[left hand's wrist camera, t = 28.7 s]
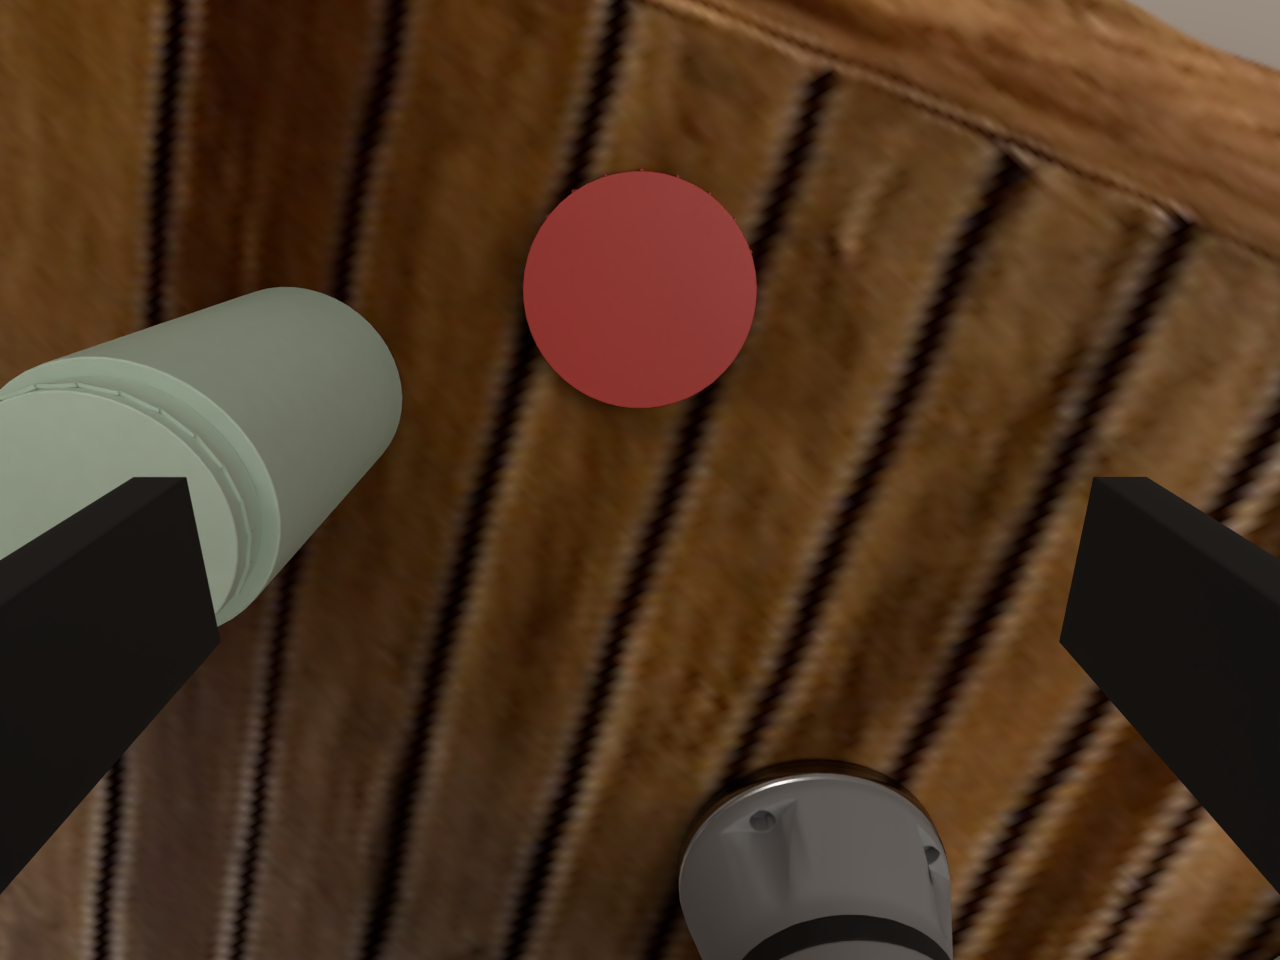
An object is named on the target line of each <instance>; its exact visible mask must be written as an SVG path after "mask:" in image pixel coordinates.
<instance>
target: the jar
mask: <svg viewBox="0 0 1280 960" xmlns="http://www.w3.org/2000/svg"><path fill="white" fill-rule="evenodd" d="M401 411H402V389H401V382H400V377H399V373H398V370H397V367H396V364H395V361H394V359H393V357H392V355H391V353H390V351H389V349H388V347H387V345H386V344H385V342H384V341H383V339H382V338H381V336H380V335H379V334H378V333H377V332H376V330H375V329H374V328H373V327H372V326H371V324H369V323H368V322H367V321H366V320H365V319H364V318H363V317H362V316H361V315H360V314H358V313H357V312H356V311H354V310H353V309H352V308H350V307H349V306H347V305H346V304H344V303H342V302H340V301H338V300H337V299H335V298H332V297H330V296H328V295H325V294H323V293H319V292H316V291H312V290H309V289H302V288H296V287H277V288H268V289H264V290H260V291H256V292H253V293H250V294H247V295H244V296H241V297H238V298H235V299H232V300H229V301H226V302H223V303H220V304H217V305H214V306H211V307H208V308H206V309H203V310H200V311H197V312H194V313H191V314H188V315H185V316H182V317H179V318H176V319H173V320H170V321H167V322H164V323H161V324H158V325H155V326H152V327H149V328H147V329H144V330H141V331H138V332H135V333H132V334H129V335H126V336H123V337H120V338H117V339H114V340H111V341H108V342H105V343H102V344H99V345H96V346H93V347H91V348H88V349H85V350H82V351H79V352H76V353H73V354H70V355H67V356H64V357H61V358H58V359H55V360H52V361H49V362H46V363H43V364H41V365H39V366H36V367H34V368H32V369H29V370H27V371H25V372H23V373H22V374H20V375H19V376H17V377H15V378H14V379H12V380H11V381H9V382H8V383H7V384H6V385H5V386H4V387H3V388H2V389H0V560H1V559H3V558H4V557H6V556H8V555H9V554H11V553H12V552H14V551H16V550H17V549H19V548H20V547H22V546H24V545H25V544H27V543H28V542H30V541H32V540H33V539H35V538H36V537H38V536H40V535H41V534H43V533H44V532H46V531H48V530H49V529H51V528H53V527H54V526H56V525H57V524H59V523H61V522H62V521H64V520H65V519H67V518H69V517H70V516H72V515H73V514H75V513H77V512H78V511H80V510H81V509H83V508H85V507H86V506H88V505H89V504H91V503H93V502H94V501H96V500H97V499H99V498H101V497H102V496H104V495H105V494H107V493H109V492H110V491H112V490H113V489H115V488H117V487H118V486H120V485H121V484H123V483H125V482H126V481H128V480H129V479H131V478H133V477H187V482H188V487H189V492H190V497H191V501H192V506H193V511H194V516H195V521H196V526H197V530H198V535H199V540H200V545H201V550H202V554H203V559H204V564H205V569H206V574H207V579H208V583H209V588H210V593H211V598H212V603H213V607H214V612H215V617H216V622H217V627H218V626H220V625H222V624H223V623H225V622H227V621H229V620H231V619H232V618H234V617H235V616H237V615H238V614H239V613H241V612H242V611H243V610H245V609H246V608H247V607H248V606H249V605H250V604H251V603H252V602H253V601H254V600H255V599H256V598H257V596H258V595H259V594H260V593H261V592H262V591H263V590H264V589H265V587H266V586H267V585H268V584H269V583H270V582H271V581H272V579H273V578H274V577H275V576H276V575H277V574H278V573H279V571H280V570H281V569H282V568H283V567H284V566H285V565H286V563H287V562H288V561H289V560H290V559H291V558H292V557H293V556H294V554H295V553H296V552H297V551H298V550H299V549H300V548H301V546H302V545H303V544H304V543H305V542H306V541H307V540H308V538H309V537H310V536H311V535H312V534H313V533H314V532H315V530H316V529H317V528H318V527H319V526H320V525H321V524H322V523H323V521H324V520H325V519H326V518H327V517H328V516H329V515H330V513H331V512H332V511H333V510H334V509H335V508H336V507H337V505H338V504H339V503H340V502H341V501H342V500H343V499H344V497H345V496H346V495H347V494H348V493H349V492H350V491H351V490H352V488H353V487H354V486H355V485H356V484H357V483H358V482H359V480H360V479H361V478H362V477H363V476H364V475H365V474H366V472H367V471H368V470H369V469H370V468H371V467H372V466H373V464H374V463H375V462H376V461H377V460H378V459H379V458H380V457H381V455H382V454H383V453H384V452H385V450H386V449H387V447H388V446H389V445H390V443H391V441H392V439H393V437H394V435H395V433H396V430H397V427H398V425H399V421H400V416H401Z"/></svg>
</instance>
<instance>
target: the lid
mask: <svg viewBox="0 0 1280 960" xmlns="http://www.w3.org/2000/svg"><path fill="white" fill-rule="evenodd" d="M604 175H605V177H602V178H599V179H597V180H595V181H593V182H590V183H588V184H586V185H584V186H583V187H581V188H579V189H578V190H577V189H574V190H572V194H570V195H569V196H568V197H567V198H565V199H564V200H563V201H562V202H561V203H560V204H559V205H558V206H557V207H556V208H555V209H554V210H553V211H552V212H551V213H550V214H548V215H547V216H546V218H547V219H546V220H545V221H544V223H543V224H542V226H541V227H540V229H539V231H538V233H537V235H536V237H535V239H534V241H533V243H532V245H531V246H530V247H529V249H530V251H529V254H528V257H527V262H526V266H525V271H524V281H523V283H522V284H523V300H524V308H525V313H526V319H527V322H528V325H529V328H530V332H531V334H532V336H533V338H534V341H535V343H536V345H537V347H538V349H539V350H540V352H541V353H542V355H543V357H544V358H545V360H546V361H547V362H548V363H549V365H550V366H551V367H552V368H553V370H554V371H555V372H556V373H557V374H558V375H559V376H561V377H562V378H563V379H564V380H565V381H566V382H567V383H569V384H570V385H571V386H573V387H574V388H575V389H577V390H578V391H580V392H582V393H584V394H586V395H587V396H589V397H591V398H594V399H596V400H599V401H601V402H604V403H608V404H611V405H615V406H620V407H628V408H652V407H660V406H665V405H669V404H673V403H676V402H679V401H681V400H684V399H686V398H689V397H691V396H692V395H694V394H696V393H698V392H700V391H702V390H703V389H704V388H706V387H707V386H709V385H710V384H711V383H713V382H714V381H715V380H716V379H717V378H718V377H719V376H720V375H721V374H723V373H724V372H725V370H726V369H727V368H728V367H729V366H730V364H731V363H732V362H733V361H734V359H735V358H736V356H737V355H738V353H739V352H740V350H741V348H742V347H743V344H744V342H745V340H746V338H747V336H748V334H749V331H750V328H751V325H752V322H753V318H754V312H755V307H756V296H757V283H756V272H755V267H754V262H753V258H752V255H751V253H752V251H751V250H750V249H749V246H748V243H747V241H746V239H745V237H744V235H743V233H742V231H741V229H740V228H739V226H738V225H737V223H736V222H735V221H736V219H735V218H734V217H732V216H731V215H730V214H729V213H728V211H727V210H726V209H725V208H724V207H723V206H722V205H721V204H720V203H719V202H718V201H717V200H716V199H714V198H713V197H712V196H711V193H710V192H708V191H707V192H705V191H704V190H702V189H700V188H699V187H697V186H696V185H694V184H692V183H689V182H687V181H685V180H683V179H681V178H679V175H675V176H672V175H668V174H665V173H659V172H653V171H643V169H641V171H628V172H620V173H615V174H612V175H608V173H607V174H604Z"/></svg>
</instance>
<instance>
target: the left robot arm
mask: <svg viewBox="0 0 1280 960" xmlns="http://www.w3.org/2000/svg"><path fill="white" fill-rule="evenodd" d="M220 642H221V641H220V636H219V632H218V627H217V622H216V617H215V612H214V607H213V603H212V598H211V593H210V588H209V583H208V579H207V574H206V569H205V564H204V559H203V554H202V550H201V545H200V540H199V535H198V530H197V526H196V521H195V516H194V511H193V506H192V501H191V497H190V492H189V487H188V482H187V477H133V478H131V479H129V480H128V481H126V482H125V483H123V484H121V485H120V486H118V487H117V488H115V489H113V490H112V491H110V492H109V493H107V494H105V495H104V496H102V497H101V498H99V499H97V500H96V501H94V502H93V503H91V504H89V505H88V506H86V507H85V508H83V509H81V510H80V511H78V512H77V513H75V514H73V515H72V516H70V517H69V518H67V519H65V520H64V521H62V522H61V523H59V524H57V525H56V526H54V527H53V528H51V529H49V530H48V531H46V532H44V533H43V534H41V535H40V536H38V537H36V538H35V539H33V540H32V541H30V542H28V543H27V544H25V545H24V546H22V547H20V548H19V549H17V550H16V551H14V552H12V553H11V554H9V555H8V556H6V557H4V558H3V559H1V560H0V894H1V893H2V892H3V891H4V889H5V888H6V887H7V886H8V885H9V884H10V883H11V881H12V880H13V879H14V878H15V877H16V876H17V875H18V873H19V872H20V871H21V870H22V869H23V868H24V867H25V865H26V864H27V863H28V862H29V861H30V860H31V859H32V857H33V856H34V855H35V854H36V853H37V852H38V851H39V849H40V848H41V847H42V846H43V845H44V844H45V843H46V841H47V840H48V839H49V838H50V837H51V836H52V834H53V833H54V832H55V831H56V830H57V829H58V828H59V826H60V825H61V824H62V823H63V822H64V821H65V820H66V818H67V817H68V816H69V815H70V814H71V813H72V812H73V810H74V809H75V808H76V807H77V806H78V805H79V804H80V802H81V801H82V800H83V799H84V798H85V797H86V796H87V794H88V793H89V792H90V791H91V790H92V789H93V788H94V786H95V785H96V784H97V783H98V782H99V781H100V779H101V778H102V777H103V776H104V775H105V774H106V773H107V771H108V770H109V769H110V768H111V767H112V766H113V765H114V763H115V762H116V761H117V760H118V759H119V758H120V757H121V755H122V754H123V753H124V752H125V751H126V750H127V749H128V747H129V746H130V745H131V744H132V743H133V742H134V741H135V739H136V738H137V737H138V736H139V735H140V734H141V732H142V731H143V730H144V729H145V728H146V727H147V726H148V724H149V723H150V722H151V721H152V720H153V719H154V718H155V716H156V715H157V714H158V713H159V712H160V711H161V710H162V708H163V707H164V706H165V705H166V704H167V703H168V702H169V700H170V699H171V698H172V697H173V696H174V695H175V694H176V692H177V691H178V690H179V689H180V688H181V687H182V686H183V684H184V683H185V682H186V681H187V680H188V679H189V677H190V676H191V675H192V674H193V673H194V672H195V671H196V669H197V668H198V667H199V666H200V665H201V664H202V663H203V661H204V660H205V659H206V658H207V657H208V656H209V655H210V653H211V652H212V651H213V650H214V649H215V648H216V647H217V645H218V644H219V643H220ZM1059 642H1060V643H1061V644H1062V645H1063V647H1064V648H1065V649H1066V650H1067V651H1068V652H1069V653H1070V655H1071V656H1072V657H1073V658H1074V659H1075V660H1076V661H1077V663H1078V664H1079V665H1080V666H1081V667H1082V668H1083V669H1084V671H1085V672H1086V673H1087V674H1088V675H1089V676H1090V677H1091V679H1092V680H1093V681H1094V682H1095V683H1096V684H1097V686H1098V687H1099V688H1100V689H1101V690H1102V691H1103V692H1104V694H1105V695H1106V696H1107V697H1108V698H1109V699H1110V700H1111V702H1112V703H1113V704H1114V705H1115V706H1116V707H1117V708H1118V710H1119V711H1120V712H1121V713H1122V714H1123V715H1124V716H1125V718H1126V719H1127V720H1128V721H1129V722H1130V723H1131V724H1132V726H1133V727H1134V728H1135V729H1136V730H1137V731H1138V732H1139V734H1140V735H1141V736H1142V737H1143V738H1144V739H1145V741H1146V742H1147V743H1148V744H1149V745H1150V746H1151V747H1152V749H1153V750H1154V751H1155V752H1156V753H1157V754H1158V755H1159V757H1160V758H1161V759H1162V760H1163V761H1164V762H1165V763H1166V765H1167V766H1168V767H1169V768H1170V769H1171V770H1172V771H1173V773H1174V774H1175V775H1176V776H1177V777H1178V778H1179V779H1180V781H1181V782H1182V783H1183V784H1184V785H1185V786H1186V788H1187V789H1188V790H1189V791H1190V792H1191V793H1192V794H1193V796H1194V797H1195V798H1196V799H1197V800H1198V801H1199V802H1200V804H1201V805H1202V806H1203V807H1204V808H1205V809H1206V810H1207V812H1208V813H1209V814H1210V815H1211V816H1212V817H1213V818H1214V820H1215V821H1216V822H1217V823H1218V824H1219V825H1220V826H1221V828H1222V829H1223V830H1224V831H1225V832H1226V833H1227V834H1228V836H1229V837H1230V838H1231V839H1232V840H1233V841H1234V843H1235V844H1236V845H1237V846H1238V847H1239V848H1240V849H1241V851H1242V852H1243V853H1244V854H1245V855H1246V856H1247V857H1248V859H1249V860H1250V861H1251V862H1252V863H1253V864H1254V865H1255V867H1256V868H1257V869H1258V870H1259V871H1260V872H1261V873H1262V875H1263V876H1264V877H1265V878H1266V879H1267V880H1268V881H1269V883H1270V884H1271V885H1272V886H1273V887H1274V888H1275V890H1276V891H1277V892H1278V893H1279V894H1280V560H1279V559H1277V558H1276V557H1274V556H1272V555H1271V554H1269V553H1268V552H1266V551H1264V550H1263V549H1261V548H1260V547H1258V546H1256V545H1255V544H1253V543H1252V542H1250V541H1248V540H1247V539H1245V538H1244V537H1242V536H1240V535H1239V534H1237V533H1236V532H1234V531H1232V530H1231V529H1229V528H1227V527H1226V526H1224V525H1223V524H1221V523H1219V522H1218V521H1216V520H1215V519H1213V518H1211V517H1210V516H1208V515H1207V514H1205V513H1203V512H1202V511H1200V510H1199V509H1197V508H1195V507H1194V506H1192V505H1191V504H1189V503H1187V502H1186V501H1184V500H1183V499H1181V498H1179V497H1178V496H1176V495H1175V494H1173V493H1171V492H1170V491H1168V490H1167V489H1165V488H1163V487H1162V486H1160V485H1159V484H1157V483H1155V482H1154V481H1152V480H1151V479H1149V478H1147V477H1093V482H1092V487H1091V492H1090V497H1089V501H1088V506H1087V511H1086V516H1085V521H1084V526H1083V530H1082V535H1081V540H1080V545H1079V550H1078V554H1077V559H1076V564H1075V569H1074V574H1073V579H1072V583H1071V588H1070V593H1069V598H1068V603H1067V607H1066V612H1065V617H1064V622H1063V627H1062V632H1061V636H1060V641H1059ZM678 881H679V896H680V903H681V907H682V911H683V914H684V918H685V921H686V924H687V927H688V929H689V932H690V934H691V936H692V938H693V940H694V942H695V944H696V947H697V949H698V951H699V954H700V956H701V958H702V960H953V951H952V920H951V889H950V874H949V868H948V863H947V858H946V853H945V850H944V847H943V844H942V842H941V839H940V837H939V835H938V833H937V830H936V828H935V826H934V824H933V822H932V820H931V818H930V816H929V814H928V812H927V811H926V809H925V808H924V806H923V805H922V804H921V803H920V802H919V801H918V799H917V798H916V797H915V796H914V795H913V794H912V793H910V792H909V791H908V790H907V789H906V788H904V787H903V786H902V785H900V784H899V783H897V782H896V781H894V780H892V779H891V778H889V777H887V776H885V775H883V774H881V773H878V772H876V771H873V770H870V769H868V768H865V767H861V766H857V765H853V764H848V763H842V762H833V761H803V762H795V763H788V764H783V765H779V766H774V767H771V768H768V769H764V770H761V771H759V772H756V773H754V774H751V775H749V776H747V777H745V778H743V779H741V780H739V781H737V782H735V783H734V784H732V785H730V786H729V787H727V788H726V789H724V790H723V791H722V792H720V793H719V794H718V795H716V796H715V797H714V798H713V799H712V800H711V801H710V802H709V803H707V804H706V806H705V807H704V808H703V809H702V810H701V811H700V812H699V813H698V815H697V816H696V818H695V819H694V820H693V822H692V823H691V825H690V827H689V829H688V830H687V832H686V835H685V837H684V839H683V842H682V845H681V849H680V853H679V859H678Z"/></svg>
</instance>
